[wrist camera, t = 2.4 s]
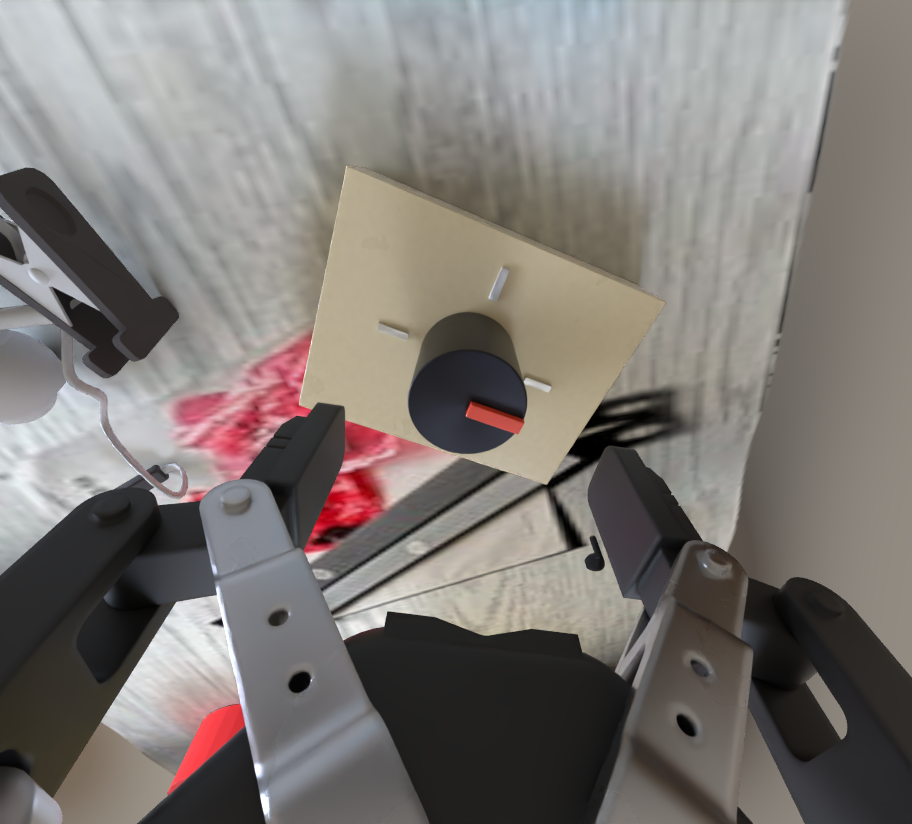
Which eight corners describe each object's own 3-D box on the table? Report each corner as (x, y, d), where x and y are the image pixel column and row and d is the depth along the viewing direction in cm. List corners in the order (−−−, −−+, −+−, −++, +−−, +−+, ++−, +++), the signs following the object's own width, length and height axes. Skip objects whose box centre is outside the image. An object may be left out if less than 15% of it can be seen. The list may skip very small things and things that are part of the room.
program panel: (317, 379, 22) (297, 407, 20) (364, 167, 17) (344, 164, 14) (538, 453, 25) (547, 487, 22) (640, 286, 19) (668, 303, 17)
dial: (408, 382, 19) (391, 438, 15) (438, 296, 17) (429, 334, 13) (491, 411, 20) (498, 472, 16) (531, 332, 18) (550, 379, 13)
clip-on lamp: (267, 445, 28) (88, 153, 16) (239, 522, 24) (-40, 196, 12) (104, 465, 28) (-201, 186, 16) (45, 546, 24) (-449, 242, 11)
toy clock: (382, 797, 40) (329, 848, 49) (391, 727, 45) (342, 785, 54) (174, 757, 36) (161, 820, 45) (211, 685, 41) (192, 756, 50)
